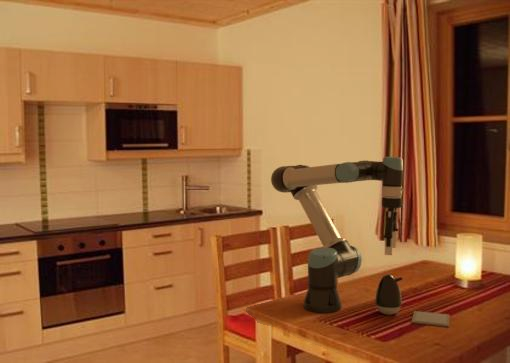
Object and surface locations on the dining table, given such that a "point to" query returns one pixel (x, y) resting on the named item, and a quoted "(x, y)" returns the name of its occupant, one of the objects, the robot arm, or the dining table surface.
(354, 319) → the dining table surface
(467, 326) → the dining table surface
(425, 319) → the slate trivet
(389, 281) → the pump dispenser
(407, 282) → the dining table surface
